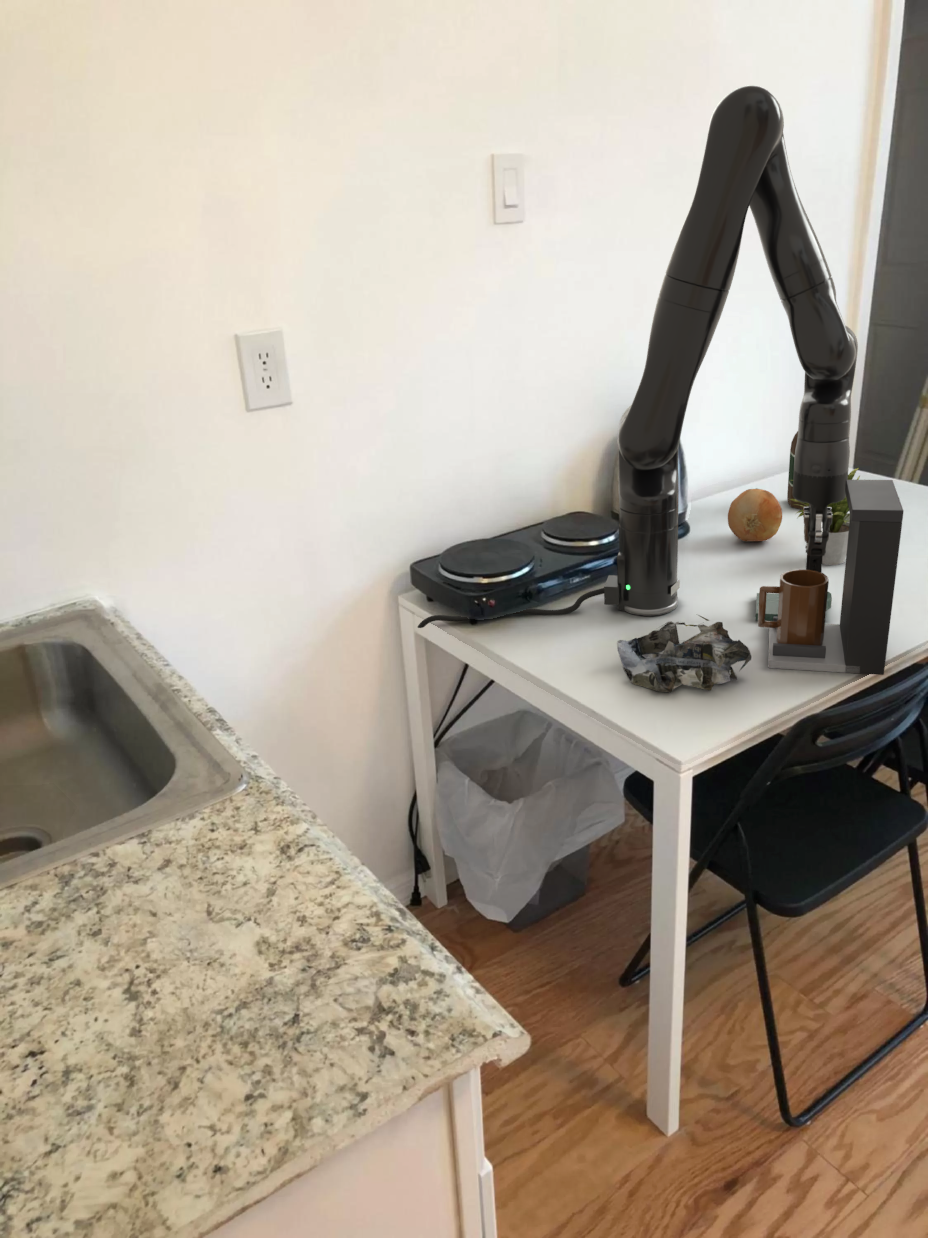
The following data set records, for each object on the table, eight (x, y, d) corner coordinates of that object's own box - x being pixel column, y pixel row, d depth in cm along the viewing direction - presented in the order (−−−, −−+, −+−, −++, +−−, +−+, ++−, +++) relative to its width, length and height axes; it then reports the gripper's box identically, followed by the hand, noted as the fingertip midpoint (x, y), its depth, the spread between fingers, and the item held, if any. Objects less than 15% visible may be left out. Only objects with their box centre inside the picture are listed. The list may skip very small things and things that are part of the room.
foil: (664, 624, 139) (732, 598, 126) (689, 692, 138) (760, 673, 125) (603, 644, 134) (668, 619, 121) (629, 715, 133) (697, 698, 120)
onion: (728, 550, 172) (730, 498, 168) (724, 532, 181) (726, 482, 177) (783, 550, 170) (787, 497, 166) (777, 531, 179) (780, 481, 175)
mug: (821, 632, 137) (827, 570, 133) (823, 652, 132) (829, 587, 127) (757, 629, 140) (760, 567, 136) (756, 649, 134) (760, 585, 130)
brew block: (755, 620, 145) (756, 602, 144) (756, 599, 152) (757, 582, 151) (831, 624, 142) (832, 606, 141) (828, 602, 149) (830, 585, 148)
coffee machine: (768, 668, 131) (778, 508, 122) (768, 628, 143) (777, 479, 133) (883, 675, 127) (903, 510, 117) (875, 633, 138) (892, 479, 128)
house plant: (806, 537, 175) (813, 452, 168) (883, 550, 166) (893, 461, 159) (774, 562, 165) (779, 473, 158) (853, 577, 157) (862, 483, 150)
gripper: (851, 480, 130) (841, 593, 137) (845, 454, 141) (836, 560, 148) (794, 480, 132) (788, 592, 139) (793, 454, 143) (786, 559, 151)
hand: (813, 575), depth 144 cm, fingers closed
